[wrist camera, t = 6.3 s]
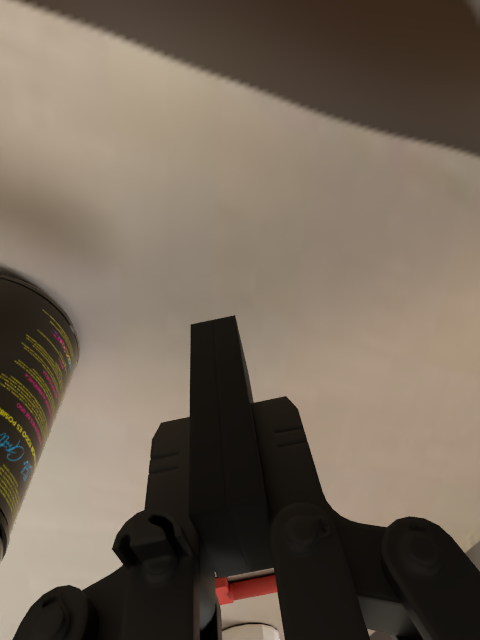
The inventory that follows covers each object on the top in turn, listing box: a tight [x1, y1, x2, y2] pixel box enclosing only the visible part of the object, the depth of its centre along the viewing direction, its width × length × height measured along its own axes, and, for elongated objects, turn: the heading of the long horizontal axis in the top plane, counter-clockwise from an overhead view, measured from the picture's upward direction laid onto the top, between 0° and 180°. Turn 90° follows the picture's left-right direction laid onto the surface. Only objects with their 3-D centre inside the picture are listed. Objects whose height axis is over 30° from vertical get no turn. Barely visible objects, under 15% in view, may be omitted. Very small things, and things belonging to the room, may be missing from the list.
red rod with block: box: [215, 575, 278, 605], centre depth 32 cm, size 15×3×1 cm, turn 101°
